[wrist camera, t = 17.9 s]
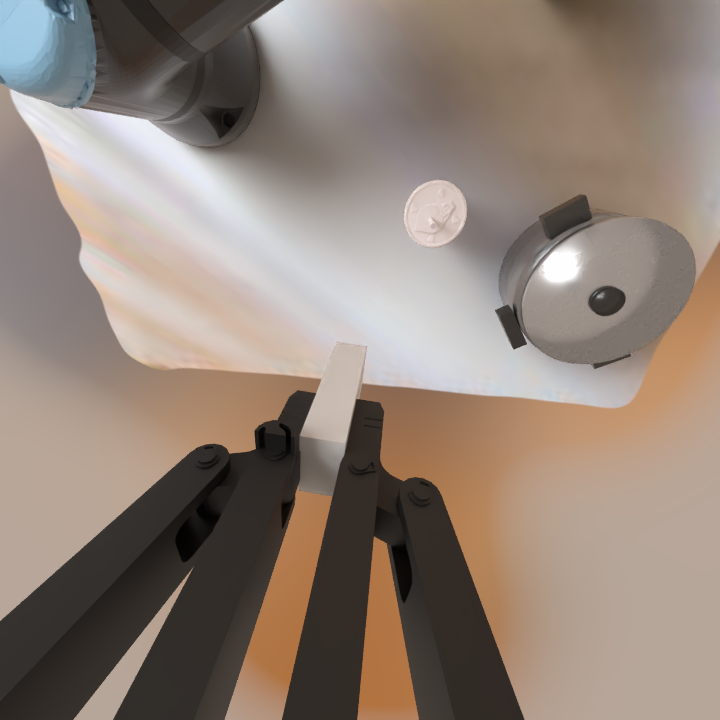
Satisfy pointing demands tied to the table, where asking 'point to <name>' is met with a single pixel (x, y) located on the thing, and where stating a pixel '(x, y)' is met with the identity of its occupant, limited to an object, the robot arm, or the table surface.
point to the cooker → (530, 253)
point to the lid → (607, 289)
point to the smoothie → (435, 213)
